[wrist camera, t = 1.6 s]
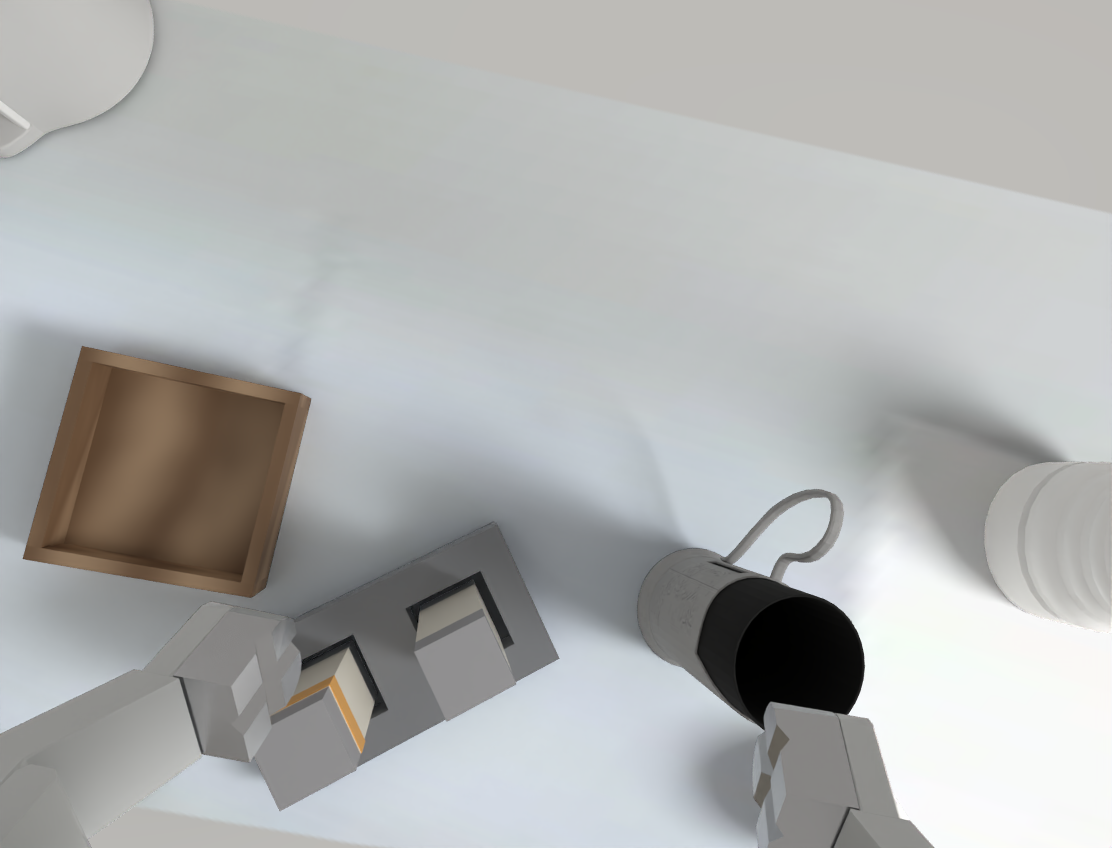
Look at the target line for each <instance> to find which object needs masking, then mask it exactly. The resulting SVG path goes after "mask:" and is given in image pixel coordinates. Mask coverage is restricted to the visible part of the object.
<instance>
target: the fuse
mask: <svg viewBox="0 0 1112 848" xmlns="http://www.w3.org/2000/svg"><path fill="white" fill-rule="evenodd" d="M414 653H415V655H416V657H417V659H418V661H419V663H420V666H421V668H422V670H423V672H424V674H425V676H426V678H427V680H428V683H429V685H430V687H431V689H432V691H433V693H434V695H435V698H436V700H437V702H438V704H439V706H440V708H441V710H442V713H443V715H444V717H445V719H446V721H449V720H451V719H453V718H454V717H456V716H458V715H460V714H462V713H464V712H466V711H467V710H469V709H471V708H473V707H475V706H477V705H479V704H480V703H482V702H484V701H486V700H488V699H490V698H492V697H494V696H495V695H497V694H499V693H501V692H503V691H505V690H507V689H508V688H510V687H512V686H514V685H516V682H515V679H514V676H513V674H512V671H511V668H510V665H509V662H508V659H507V657H506V654H505V651H504V648H503V645H502V642H501V640H500V637H499V634H498V631H497V629H496V627H495V624H494V622H493V620H492V618H491V616H490V614H489V612H488V609H487V607H486V605H485V603H484V601H483V599H482V597H481V594H480V592H479V590H478V588H477V586H476V584H475V582H474V579H472V580H470V581H468V582H466V583H464V584H462V585H460V586H458V587H456V588H454V589H452V590H450V591H448V592H446V593H444V594H442V595H440V596H438V597H436V598H434V599H432V600H430V601H428V602H426V603H424V604H422V605H421V606H420V613H419V621H418V628H417V635H416V643H415V650H414Z"/></svg>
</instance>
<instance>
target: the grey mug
mask: <svg viewBox="0 0 1112 848" xmlns="http://www.w3.org/2000/svg"><path fill="white" fill-rule="evenodd" d="M822 497H826V498H828V499H829V500H830V503H831V516H830V521H829V525H828V528H827V531H826V532H825V534H824V536H823V538H822V539H821V540H820V541H819V543H818V544H817V545H816V546H815V547H814V548H812V549H811V550H810V551H808V552H805V553H802V554H795V553H785V554H783V555H782V556H780V557H779V559H778V560H777V562H776V563H775V566H774V568H773V570H772V573H771V576H770V577H767V576H764V575H761V574H758V573H755V572H752V571H749V570H746V569H743V568H740V567H737V566H734V565H733V564H734V563H735V562H736V561H738V560H739V559H740V558H741V557H742V555H743V554H744V553H745V552H746V551H747V550H748V549H749V548H750V547H751V545H752V544H753V543H754V542H755V541H756V540H757V538H758V537H759V536H760V535H761V534H762V533H763V532H764V531H765V529H766V528H767V527H768V526H769V525H770V524H771V523H772V522H773V521H774V520H775V519H776V518H777V517H779V516H780V515H781V514H782V513H784V512H785V511H786V510H788V509H789V508H791V507H793V506H795V505H796V504H798V503H800V502H802V501H805V500H808V499H812V498H822ZM843 515H844V511H843V504H842V502H841V501H840V499H839V498H838V497H837V496H836V495H835V494H833V493H831V492H828V491H824V490H821V489H813V490H804V491H801V492H798V493H795V494H792V495H791V496H789V497H787V498H785V499H783V500H782V501H780V502H779V503H777V504H776V505H774V506H773V507H772V508H771V509H770V510H769V511H768V512H767V513H766V514H765V515H764V516H763V517H762V518H761V519H760V520H759V521H758V523H757V524H756V525H755V526H754V527H753V528H752V529H751V530H750V531H749V533H748V534H747V535H746V536H745V537H744V538H743V540H742V541H741V542H740V543H739V544H738V545H737V547H736V548H735V549H734V550H733V551H732V552H731V553H730V554H729V555H728V556H727V557H722V556H721V555H719V554H717V553H715V552H712V551H709V550H705V549H698V548H693V549H684V550H680V551H676V552H674V553H672V554H670V555H668V556H666V557H665V558H663V559H662V560H660V561H659V562H658V563H657V564H656V565H655V566H654V567H653V568H652V569H651V571H650V572H649V573H648V575H647V576H646V578H645V580H644V582H643V584H642V586H641V590H640V593H639V596H638V604H637V616H638V622H639V627H640V629H641V632H642V635H643V637H644V639H645V640H646V642H647V644H648V645H649V647H650V648H651V649H652V650H653V651H654V652H655V653H656V654H657V655H658V656H659V657H661V658H662V659H663V660H665V661H667V662H669V663H671V664H673V665H676V666H679V667H682V668H684V669H685V670H686V671H687V672H689V673H690V674H691V675H692V676H693V677H695V678H696V679H697V680H698V681H699V682H701V683H702V684H703V685H704V686H706V687H707V688H708V689H709V690H710V691H712V692H713V693H714V694H715V695H716V696H718V697H719V698H720V699H721V700H722V701H724V702H725V703H726V704H727V705H729V706H730V707H731V708H732V709H733V710H735V711H736V712H737V713H739V714H740V715H741V716H743V717H744V718H746V719H747V720H749V721H751V722H753V723H755V724H757V725H758V726H760V727H761V728H762V729H763V730H765V727H764V714H765V711H766V708H767V706H768V704H769V703H770V702H775V703H781V704H787V705H793V706H799V707H805V708H811V709H817V710H823V711H829V712H833V713H838V714H844V715H848V714H849V712H850V711H851V709H852V707H853V706H854V704H855V703H856V700H857V698H858V696H859V694H860V691H861V687H862V683H863V679H864V669H865V663H864V652H863V647H862V643H861V640H860V638H859V635H858V632H857V630H856V629H855V627H854V625H853V624H852V622H851V621H850V619H849V618H848V617H847V616H846V615H845V613H844V612H843V611H841V610H840V609H839V608H838V607H837V606H835V605H834V604H832V603H830V602H829V601H827V600H825V599H822V598H820V597H817V596H814V595H811V594H808V593H805V592H802V591H799V590H796V589H793V588H790V587H789V586H788V585H786V584H784V583H782V582H781V581H782V578H783V575H784V573H785V570H786V568H787V567H788V565H789V564H790V563H791V562H793V561H798V562H813V561H816V560H819V559H820V558H821V557H823V556H824V555H825V554H827V552H828V551H829V550H830V549H831V548H832V547H833V545H834V543H835V542H836V540H837V538H838V536H839V533H840V530H841V527H842V522H843Z"/></svg>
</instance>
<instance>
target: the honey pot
mask: <svg viewBox="0 0 1112 848" xmlns="http://www.w3.org/2000/svg"><path fill="white" fill-rule="evenodd" d="M984 547H985V552H986V558H987V563H988V567H989V569H990V571H991V573H992V576H993V578H994V580H995V582H996V585H997V586H998V587H999V588H1000V590H1001V591H1002V592H1003V594H1004V595H1005V596H1006V597H1007V599H1008V600H1009V601H1010V602H1012V603H1013V604H1014V605H1016V606H1017V607H1018V608H1020V609H1021V610H1022V611H1024V612H1026V613H1029V614H1031V615H1034V616H1036V617H1039V618H1042V619H1046V620H1050V621H1054V622H1058V623H1062V624H1066V625H1070V626H1074V627H1079V628H1083V629H1087V630H1092V631H1095V632H1098V633H1112V463H1109V462H1098V463H1096V462H1044V463H1039V464H1035V465H1030V466H1027V467H1026V468H1024V469H1022V470H1020V471H1018V472H1016V473H1015V474H1013V475H1012V476H1011V477H1010V478H1009V479H1008V480H1007V481H1006V482H1005V483H1004V484H1003V485H1002V486H1001V487H1000V488H999V490H998V492H997V494H996V495H995V497H994V499H993V501H992V503H991V504H990V508H989V511H988V515H987V518H986V522H985V534H984Z"/></svg>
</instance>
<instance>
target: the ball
mask: <svg viewBox="0 0 1112 848" xmlns="http://www.w3.org/2000/svg"><path fill="white" fill-rule="evenodd" d="M893 796H894V795H893ZM894 799H895V803H896V806H897V810H898V813H899V816H900V818H901V819H905V820H909V818H908V817H907V815H906V814H905V812H904V810H903V809H902V807H901V806H900V804H899V802H898V801H897V799H896V798H895V796H894Z"/></svg>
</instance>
